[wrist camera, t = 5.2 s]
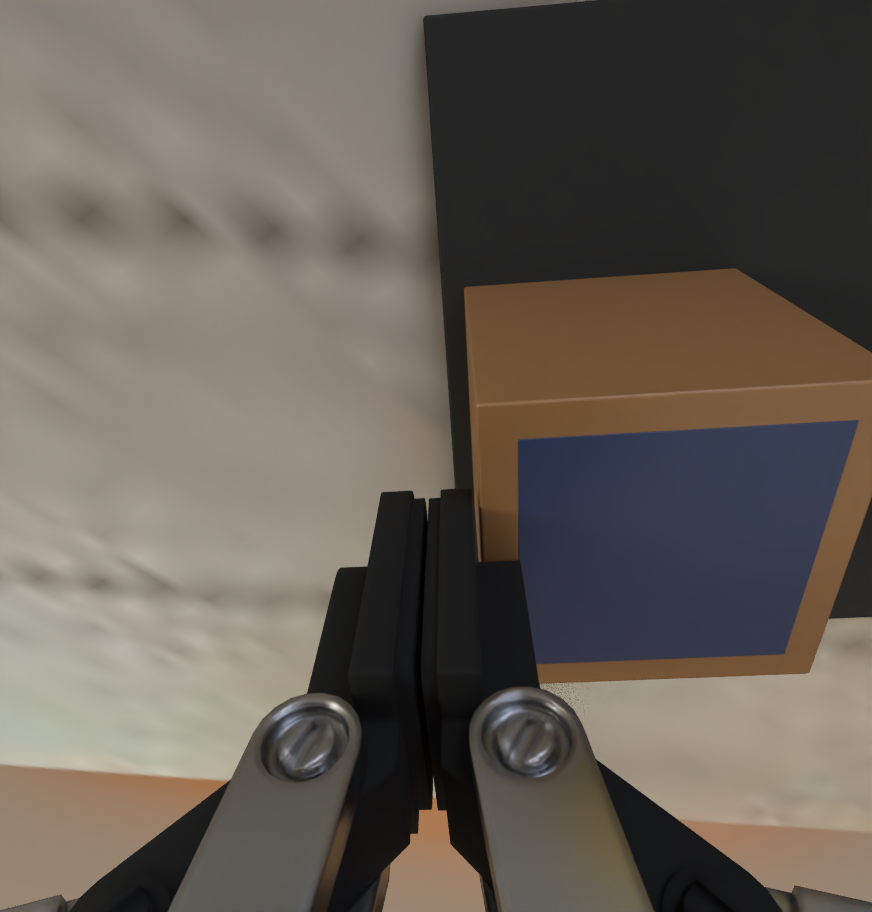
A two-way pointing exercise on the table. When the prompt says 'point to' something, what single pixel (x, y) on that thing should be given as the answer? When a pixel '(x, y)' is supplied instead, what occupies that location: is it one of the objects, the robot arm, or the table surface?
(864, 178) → the mat
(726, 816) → the table surface
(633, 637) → the box
